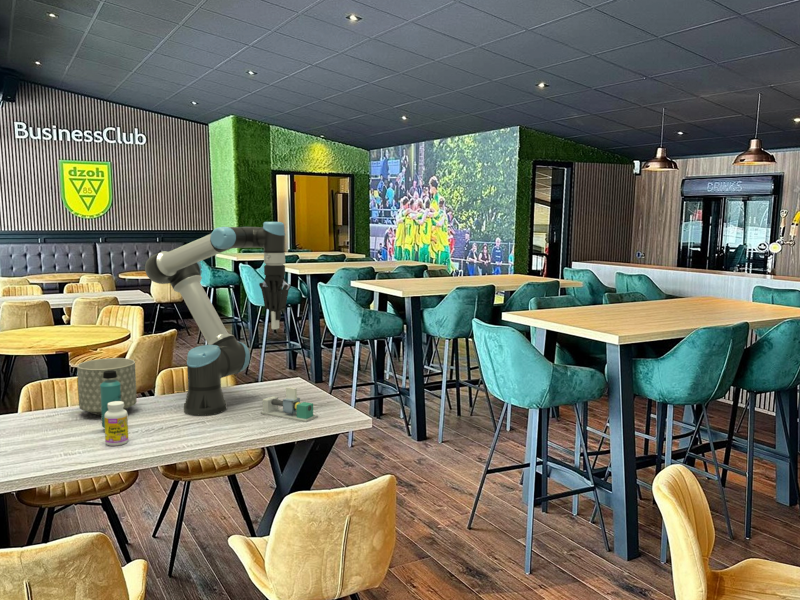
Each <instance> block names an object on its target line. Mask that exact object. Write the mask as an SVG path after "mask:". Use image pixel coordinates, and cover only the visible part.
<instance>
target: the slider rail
mask: <svg viewBox="0 0 800 600" xmlns="http://www.w3.org/2000/svg"><path fill="white" fill-rule="evenodd" d="M279 407H283V400H280V399H279V396H276V395H273V396H269V397H266V398H264V399H262V411H261V412H260V414H261V415H265V416H271V417H276V418H283V419H288V420H292V421H296V422H301V423H302V422H303V423H308V422H310V421H312V420H314V418H315V419H317V418H318V417H319V416H318V415H316V414H314V403H312V402H306V401H303V402H301V401H300V402H297V403H293V408H295V409H296V410H297V412H295V413H293V414H291V413H285V412H283V408H279ZM316 417H317V418H316Z"/></svg>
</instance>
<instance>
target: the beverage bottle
mask: <svg viewBox="0 0 800 600" xmlns="http://www.w3.org/2000/svg"><path fill="white" fill-rule="evenodd" d="M116 377H117V374H116V371H114V370H109V371H105V372H104V373H103V378H105V379H111V378H116ZM120 385H121V384H120V382H118V381H117V380H106V381H104V382H103V383H102V384H101V385H100V388H101V413H102V415H100V416H101V421H100V422H101V426H102V427H101V428H104V429H105V413H106V412H107V411H108V403H110V402H114V401H121V398H122V397H121V388H120Z"/></svg>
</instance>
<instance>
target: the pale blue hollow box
mask: <svg viewBox="0 0 800 600" xmlns="http://www.w3.org/2000/svg"><path fill="white" fill-rule="evenodd" d="M297 396H298V388H297V387H291V386H286V387H285V398H283V399H282V401H283V406H282V409H283V412H285V413H291V414H293V413H295V412H297V410H296V409H295V408H293V403H297V402H300V403H301V398H300V397H297Z"/></svg>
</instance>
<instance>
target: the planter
mask: <svg viewBox="0 0 800 600" xmlns="http://www.w3.org/2000/svg"><path fill="white" fill-rule="evenodd" d="M76 366H77V385H78V389H77V390H78V407H79V409H80V410H82V411H84V412H88V413H90V414H92V415H96V416H102V413H101V388H100V385H101V384H102V383H103V382H104V381H106V380H117V381H118V382H120V384H121V385H120V388H121V397H122V398H121V401H122V402H124V407H123V409H124V410H126V411H127V409H129V408H131V407H133V406H135V405H136V404H137V381H136V380H137V377H136V362H135V360H134V359H130V358H124V357H114V358H113V357H112V358H110V357H108V358H97V359H90V360H86V361H83V362H80V363H78V364H77V365H76ZM109 370H114V371H116V374H117V377H116V378H111V379H105V378H103V373H104V372H105V371H109Z"/></svg>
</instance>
